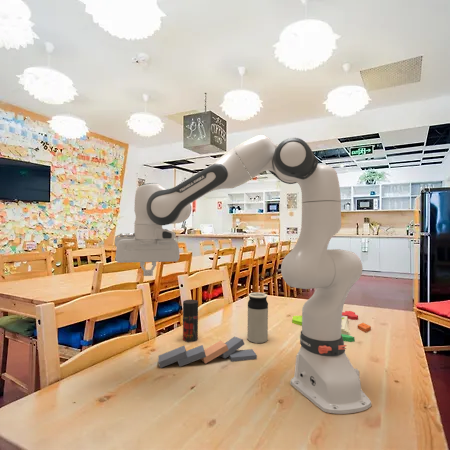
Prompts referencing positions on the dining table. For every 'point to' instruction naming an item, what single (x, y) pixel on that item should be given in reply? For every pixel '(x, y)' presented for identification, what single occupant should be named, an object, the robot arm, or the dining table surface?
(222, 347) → the domino
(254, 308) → the travel mug
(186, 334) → the deodorant
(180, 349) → the domino
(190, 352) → the domino
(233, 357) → the domino
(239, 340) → the domino
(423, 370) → the dining table surface
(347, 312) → the pattern blocks set
